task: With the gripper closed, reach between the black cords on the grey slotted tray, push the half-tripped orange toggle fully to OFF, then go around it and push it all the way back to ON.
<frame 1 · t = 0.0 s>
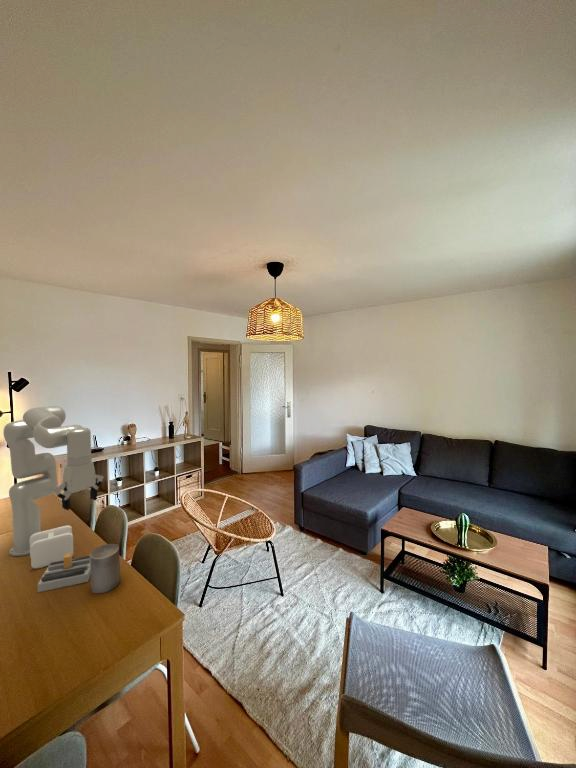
hand: (80, 504, 117), 31 cm above the table, tool pointing down, fingers open, 9 cm apart
pillar candle: (105, 585, 118), on the table
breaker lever: (67, 562, 121), point 6 cm above the table, slide at 5.0 cm
grey slotted tray: (68, 576, 122), on the table
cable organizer: (52, 559, 133), on the table
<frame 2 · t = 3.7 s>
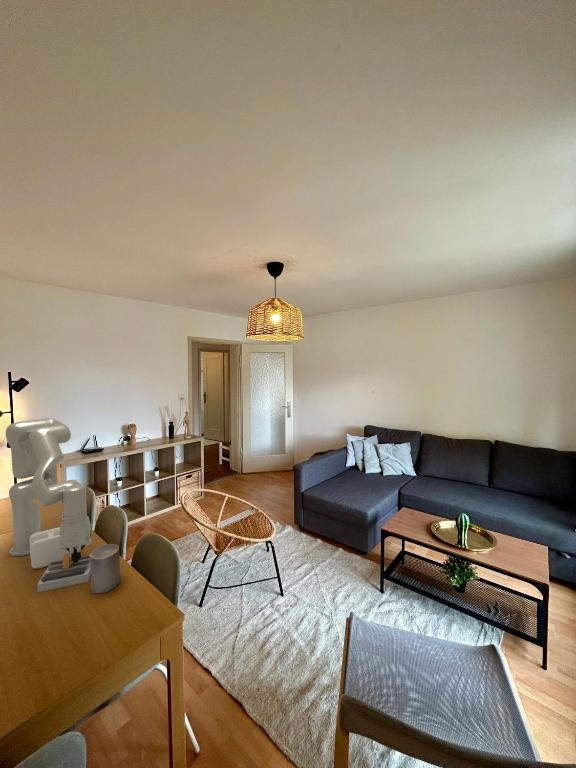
hand: (76, 560, 122), 6 cm above the table, tool pointing down, fingers closed
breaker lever: (66, 562, 121), point 6 cm above the table, slide at 4.6 cm, touching gripper
everything else where it was.
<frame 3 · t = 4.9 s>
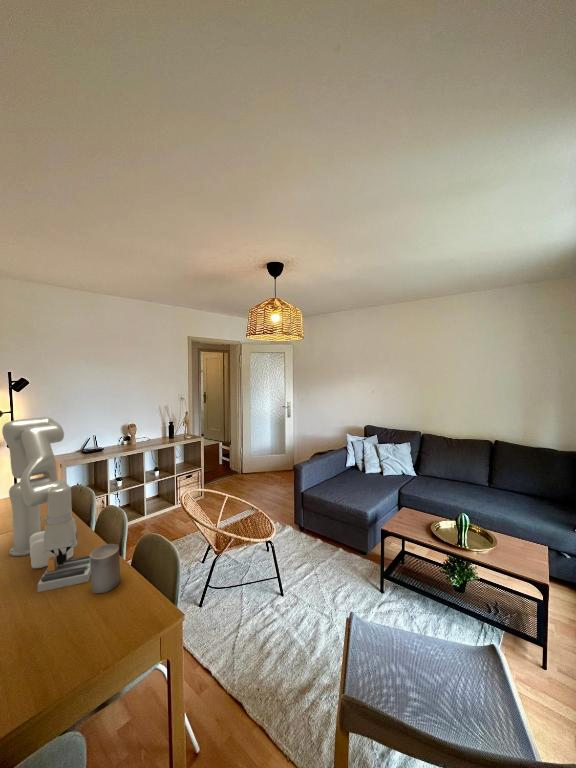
hand: (61, 562, 121), 6 cm above the table, tool pointing down, fingers closed
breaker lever: (52, 565, 120), point 6 cm above the table, slide at -0.1 cm, touching grey slotted tray, gripper
everything else where it was.
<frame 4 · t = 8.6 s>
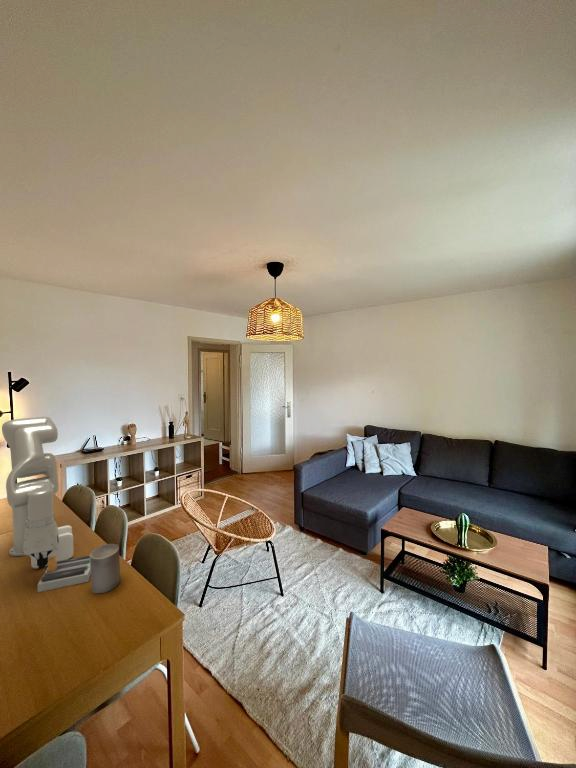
hand: (42, 566, 118), 6 cm above the table, tool pointing down, fingers closed
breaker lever: (52, 565, 120), point 6 cm above the table, slide at 0.0 cm, touching gripper
everything else where it was.
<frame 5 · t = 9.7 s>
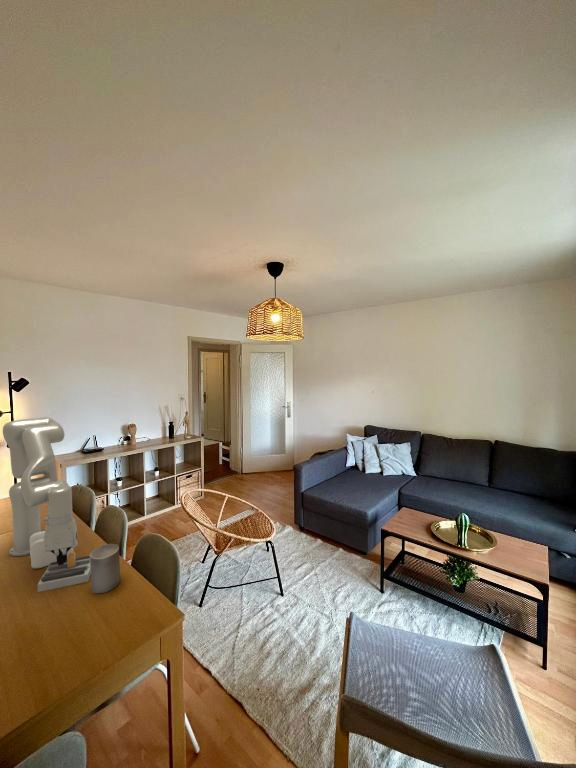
hand: (62, 563, 121), 6 cm above the table, tool pointing down, fingers closed
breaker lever: (71, 561, 122), point 6 cm above the table, slide at 6.2 cm, touching gripper
everything else where it was.
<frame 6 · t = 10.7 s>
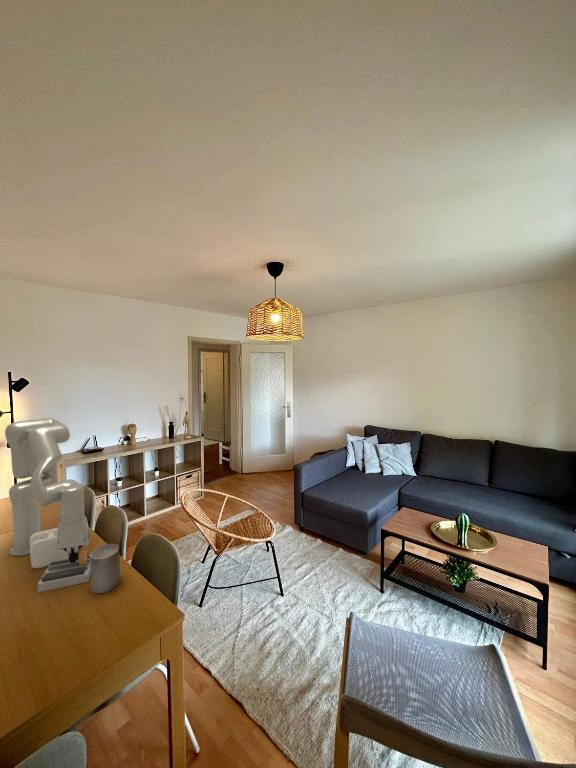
hand: (73, 560, 122), 6 cm above the table, tool pointing down, fingers closed
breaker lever: (82, 559, 123), point 6 cm above the table, slide at 10.1 cm, touching grey slotted tray, gripper
everything else where it was.
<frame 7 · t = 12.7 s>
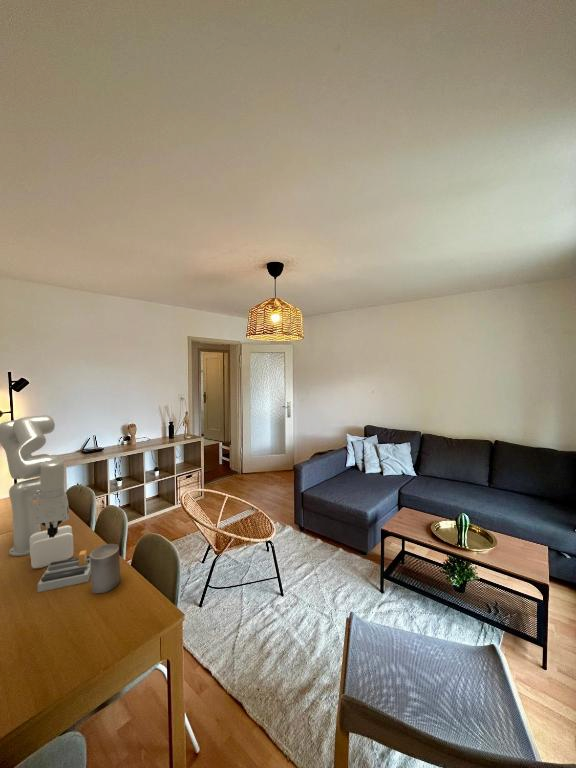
hand: (52, 535, 122), 16 cm above the table, tool pointing down, fingers closed
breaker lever: (82, 559, 123), point 6 cm above the table, slide at 10.1 cm
everything else where it was.
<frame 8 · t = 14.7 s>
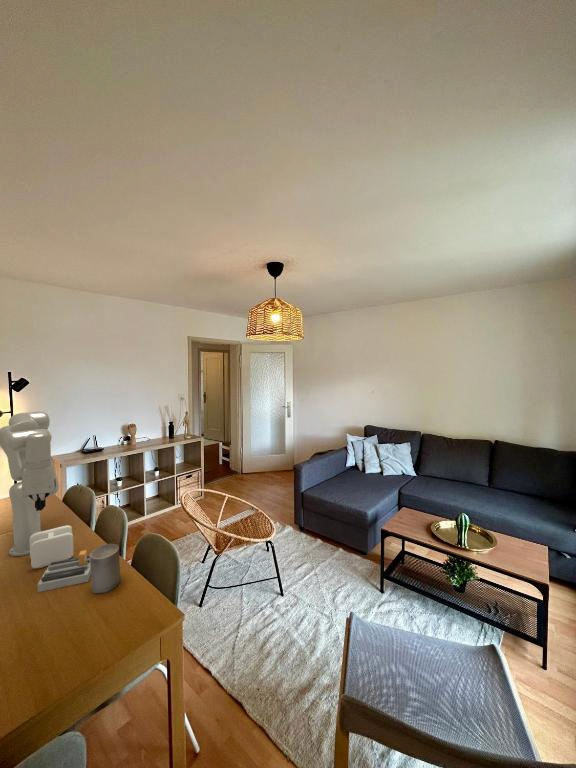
hand: (40, 509, 121), 27 cm above the table, tool pointing down, fingers closed
nothing on the table moved.
at the end: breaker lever slide at 10.1 cm; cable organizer moved 0.3 cm from its start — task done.
